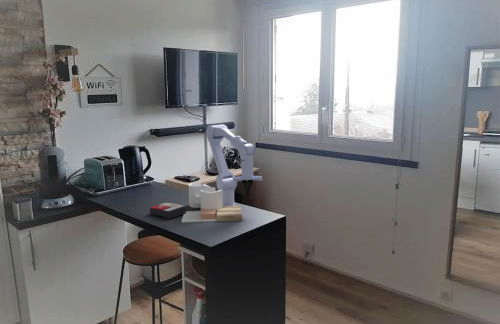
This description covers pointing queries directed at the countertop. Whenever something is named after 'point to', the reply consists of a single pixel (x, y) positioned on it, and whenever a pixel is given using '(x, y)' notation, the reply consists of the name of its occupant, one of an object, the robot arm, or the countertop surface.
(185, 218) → the mat
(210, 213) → the tile
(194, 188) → the bracket
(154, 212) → the red and grey box
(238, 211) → the board
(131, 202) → the countertop surface
